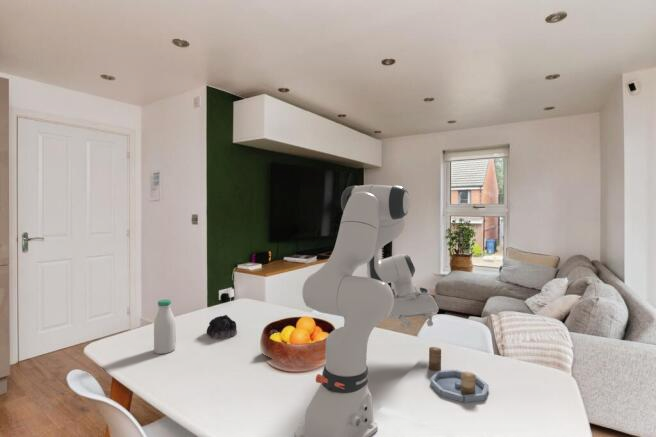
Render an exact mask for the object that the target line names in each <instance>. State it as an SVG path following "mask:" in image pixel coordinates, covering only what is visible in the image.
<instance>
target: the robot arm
mask: <svg viewBox="0 0 656 437" xmlns="http://www.w3.org/2000/svg"><path fill="white" fill-rule="evenodd" d="M410 200H411V199H410V196H409V192H408V190H406V188H405V187H404V186H400V185H387V184H363V185H351V186H347V187H346V188H345V189H344V190H343V192H342V193H341V197H340V207H341V210H342V213H343V214H342V215H341V220H340V224H339V227H338V228H339V229H338V233H337V237H336V241H335V244H334V248H333V250H332V252H331V254H330V256H329V258H328V259H327V261H326V262H325V263H324V264H323V265H322V266H321V267H320V268H318V270H317V271H315V272H314V273H313V274H310V275H309V276H308V277H307V278H306V280H305V281H304V282H303V287H302V289H301V290H302V291H301V294H302V300H303V302H304V304H305V306H306V307H307V308H310V309H311V310H314V311H317V312H319V313H322V314H328V315H333V316H339V317H342V318H343V319H344V320H343V326H340V327H338V328H336V329H333V330H332V331H331V332H330V333H329V334H328V335H327V337H326V339H325V363H324V365H323V370H322V372H321V374H322V375H321V374H320V373H318V374H316V376H315V382H316V383H318V384H320V385H319V387H318V389H317V390H316V392H315V394H314V395H313V397H312V399H311V401H310V403H309V404H308V406H307V407H306V410H305V413H304V420H303V421H302V422H301V423H300V425H299V426H298V427H297V428H296V430H295V432H294V437H370V436H372V435H373V434H374V433H376V432H377V431H378V430H379V428H378V424H377V422H376V421H375V420H374V407H373V396H372V393H371V391H370V389H369V386H368V383H369V370H368V369H369V368H368V366H367V354H368V344H369V338H370V335H371V333H372V332H373V331H374V329H375V327H376V326H377V325H379V323H382V321H384V320H386V319H387V318H388V317H389V318H390V319H391V320H397V319H399V321H400V322H401V323H402V325H404V327H405V329H406V330H407V329H410V328H411V327H412V325H411V323H410V322H408V321H407V320H406V319H409V318H420V317H421V318H422V317H426V319H428V320H427V321H426V325H427V327H433V325H434V323H433V316H436V315H437V313H438V312H439V306H438V304H437V302H436V300H435V298H434V296H432V295H431V294H430V293H431V291H430V290H429V288H427V287H422V286H418V285H416V283H415V282H414V281H413V279H412V278H413V277H414V275H415V272H416V268H415V266H414V263H413V262H412V259H411V256H409V255H408V254H405V253H399V254H395V255H392V256H388V257H385V258H382V259H380V258H379V254H380V251H381V249H383V247H384V246H386V245H387V244H389V243H391V242H392V241H394V240H396V239H397V238H398V237H399V236H401V234H402V233H403V231H404V228H405V216H407V214H408V213H409V212H408V211H409V210H410V204H411V201H410ZM366 264H367V266H366V273H367V276H359V275H354V272H355V271H356V270H357V269H358V268H359V267H361V266H363V265H366ZM390 283H391V285H392V286H393V289H392V287H391V286H390V285H389V284H390ZM393 292H394V293H393ZM394 294H395V295H394Z"/></svg>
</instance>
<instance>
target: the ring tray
mask: <svg viewBox="0 0 656 437" xmlns="http://www.w3.org/2000/svg"><path fill="white" fill-rule="evenodd" d="M462 372H464V371H463V370H458V369H445V370H440V371H434V374H433V375H432V376H431V377H430V380H429V381H430V382H429V384H430V386H431V387H432V388H433V389H434V391H436V392H437V393H438V394H439V395H440V396H441V397H445V398H446V399H447V398H448V399H450V400H454V401H457V402H460V403H473V402H483V401H485V400H486V398H487V396H488V392H489V384H488V383H487V382H485V381H484V380H482V379H481V378H480V377H479V376H478V375H476V386H475V394H470V395H462V394H461V373H462Z"/></svg>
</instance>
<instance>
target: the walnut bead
mask: <svg viewBox="0 0 656 437" xmlns="http://www.w3.org/2000/svg"><path fill="white" fill-rule="evenodd" d="M428 349H429V350H428V352H429V353H428V369H429V370H431V371H433V372H436V371H442V349H441V348H440V347H438V346H430V347H429V348H428Z"/></svg>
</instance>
